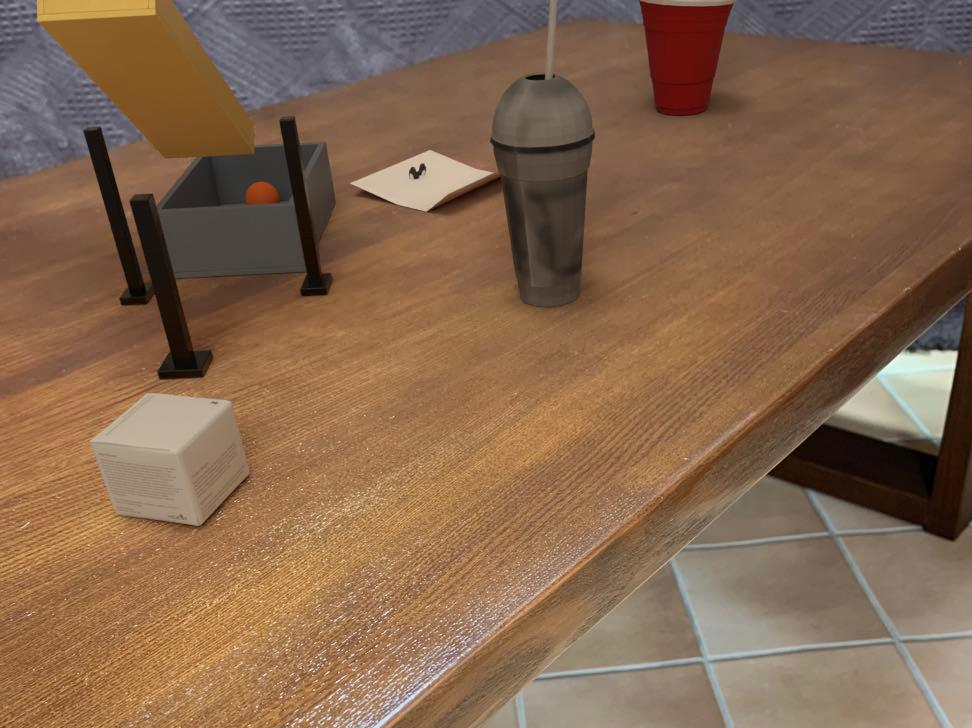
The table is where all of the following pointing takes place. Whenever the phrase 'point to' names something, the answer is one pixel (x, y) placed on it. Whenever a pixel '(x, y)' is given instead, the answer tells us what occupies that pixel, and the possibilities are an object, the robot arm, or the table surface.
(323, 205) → the bin
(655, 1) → the plastic cup
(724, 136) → the table surface
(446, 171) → the folded paper
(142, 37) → the trough
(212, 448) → the small box
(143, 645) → the table surface
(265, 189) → the toy ball
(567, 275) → the beverage cup
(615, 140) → the table surface
